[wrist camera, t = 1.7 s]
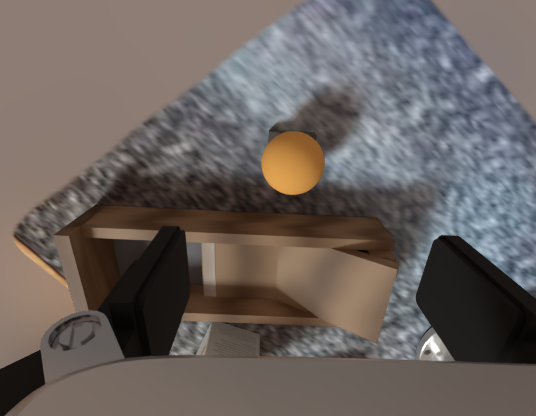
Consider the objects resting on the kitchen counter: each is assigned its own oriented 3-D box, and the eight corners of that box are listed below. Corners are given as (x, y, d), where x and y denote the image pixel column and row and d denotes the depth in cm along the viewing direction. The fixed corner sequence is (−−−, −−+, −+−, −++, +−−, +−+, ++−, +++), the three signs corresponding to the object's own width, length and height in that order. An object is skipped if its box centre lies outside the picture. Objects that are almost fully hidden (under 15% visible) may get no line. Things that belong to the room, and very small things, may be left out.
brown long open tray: (377, 218, 28) (409, 259, 22) (359, 296, 32) (381, 351, 26) (95, 204, 28) (42, 243, 21) (113, 286, 32) (72, 339, 25)
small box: (237, 374, 38) (223, 508, 26) (192, 360, 37) (155, 493, 25) (262, 333, 35) (258, 464, 23) (213, 317, 34) (183, 445, 22)
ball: (322, 128, 24) (335, 139, 20) (315, 184, 26) (325, 206, 22) (263, 125, 24) (262, 135, 19) (261, 181, 26) (259, 202, 21)
